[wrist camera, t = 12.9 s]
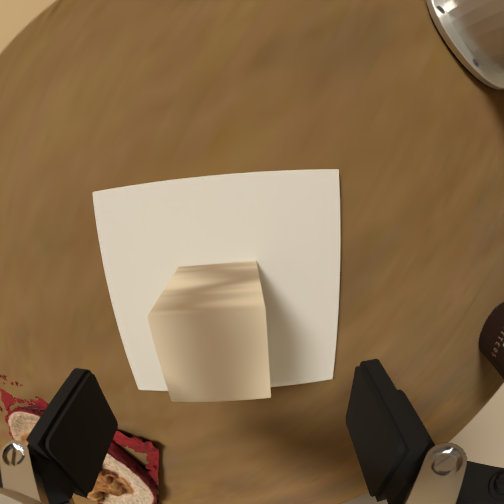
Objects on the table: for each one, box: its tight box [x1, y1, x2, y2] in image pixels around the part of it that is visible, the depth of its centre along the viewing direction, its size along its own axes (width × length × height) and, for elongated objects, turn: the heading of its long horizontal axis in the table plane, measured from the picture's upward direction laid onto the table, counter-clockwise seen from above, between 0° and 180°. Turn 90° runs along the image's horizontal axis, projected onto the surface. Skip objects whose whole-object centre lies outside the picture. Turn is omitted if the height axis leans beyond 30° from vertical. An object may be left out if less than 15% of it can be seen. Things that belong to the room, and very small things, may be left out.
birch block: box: [147, 260, 271, 402], centre depth 16 cm, size 5×5×7 cm
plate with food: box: [0, 375, 159, 504], centre depth 24 cm, size 25×26×4 cm
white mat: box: [93, 169, 340, 391], centre depth 19 cm, size 16×16×1 cm
